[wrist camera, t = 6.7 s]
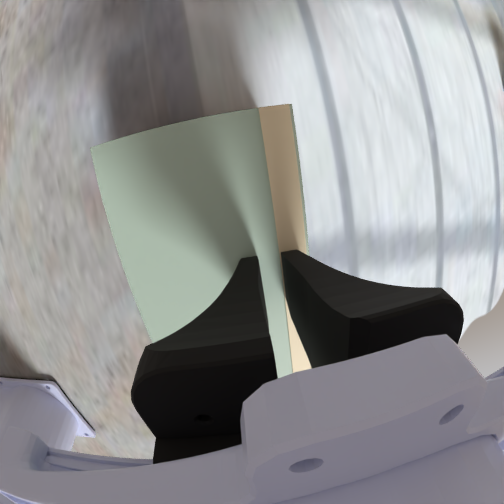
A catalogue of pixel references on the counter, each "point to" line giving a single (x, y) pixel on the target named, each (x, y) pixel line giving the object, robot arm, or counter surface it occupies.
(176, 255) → the lid
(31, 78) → the counter surface
